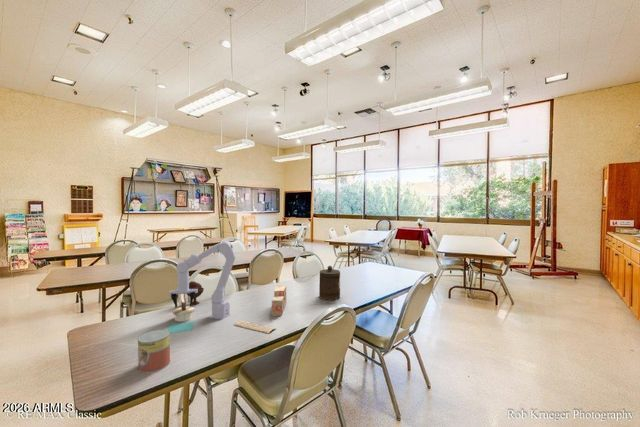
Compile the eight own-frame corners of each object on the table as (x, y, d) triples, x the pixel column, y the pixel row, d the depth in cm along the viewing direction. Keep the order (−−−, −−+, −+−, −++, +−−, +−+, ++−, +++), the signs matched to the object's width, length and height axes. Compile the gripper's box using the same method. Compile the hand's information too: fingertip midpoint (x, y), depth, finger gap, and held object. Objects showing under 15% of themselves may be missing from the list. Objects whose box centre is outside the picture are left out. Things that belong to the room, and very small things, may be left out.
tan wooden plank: (233, 326, 154) (233, 323, 154) (242, 321, 160) (242, 318, 160) (269, 335, 144) (269, 331, 144) (277, 329, 150) (277, 326, 150)
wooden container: (344, 297, 201) (344, 266, 200) (327, 301, 193) (327, 269, 192) (331, 292, 213) (331, 263, 213) (315, 295, 205) (315, 265, 204)
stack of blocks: (282, 316, 167) (282, 295, 167) (271, 316, 167) (271, 295, 167) (286, 303, 189) (286, 285, 188) (277, 303, 189) (276, 285, 188)
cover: (198, 309, 166) (198, 300, 166) (184, 316, 155) (184, 307, 155) (182, 307, 169) (182, 299, 169) (168, 314, 158) (168, 305, 158)
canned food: (131, 369, 113) (130, 339, 112) (156, 355, 123) (156, 328, 123) (152, 375, 109) (151, 344, 108) (176, 360, 119) (176, 332, 119)
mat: (194, 322, 158) (194, 321, 158) (191, 331, 146) (191, 330, 146) (170, 325, 154) (170, 324, 154) (165, 334, 143) (165, 333, 143)
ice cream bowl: (197, 307, 182) (197, 283, 182) (182, 305, 184) (181, 282, 184) (207, 301, 192) (206, 279, 192) (192, 300, 195) (192, 278, 194)
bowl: (195, 316, 166) (195, 309, 166) (185, 323, 157) (185, 315, 157) (182, 315, 168) (182, 308, 168) (171, 321, 159) (171, 313, 159)
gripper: (198, 279, 168) (198, 302, 168) (170, 281, 164) (171, 305, 164) (196, 283, 161) (196, 306, 161) (168, 285, 157) (168, 309, 157)
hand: (183, 306), depth 162 cm, fingers open, 7 cm apart
